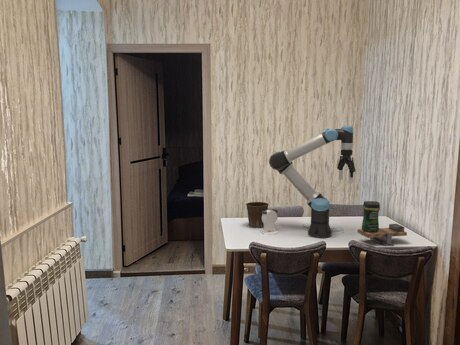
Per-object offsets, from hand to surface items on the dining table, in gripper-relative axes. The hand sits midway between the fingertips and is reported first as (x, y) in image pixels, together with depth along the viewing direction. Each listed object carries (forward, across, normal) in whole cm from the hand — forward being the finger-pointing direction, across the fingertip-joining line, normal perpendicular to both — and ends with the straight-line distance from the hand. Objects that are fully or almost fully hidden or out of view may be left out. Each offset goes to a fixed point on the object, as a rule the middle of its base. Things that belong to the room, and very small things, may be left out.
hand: (345, 181), depth 259 cm
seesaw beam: (+29, -27, -11) cm, 41 cm away
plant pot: (+35, +26, +54) cm, 69 cm away
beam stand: (+35, -27, -11) cm, 45 cm away
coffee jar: (+28, -27, -3) cm, 39 cm away
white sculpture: (+35, +9, +50) cm, 62 cm away
